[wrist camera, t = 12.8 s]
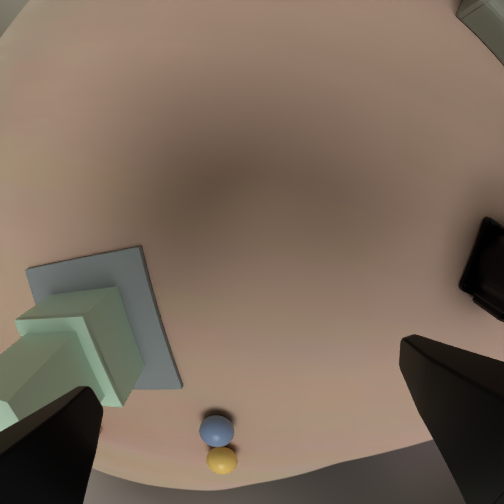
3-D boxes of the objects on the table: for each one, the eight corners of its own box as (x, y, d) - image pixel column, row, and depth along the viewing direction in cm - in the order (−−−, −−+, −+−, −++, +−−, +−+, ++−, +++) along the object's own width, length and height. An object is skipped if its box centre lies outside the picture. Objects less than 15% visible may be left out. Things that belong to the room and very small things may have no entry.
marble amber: (243, 461, 22) (225, 438, 24) (216, 477, 21) (198, 453, 23) (243, 466, 24) (226, 445, 26) (218, 480, 23) (202, 458, 25)
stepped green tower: (117, 286, 20) (8, 386, 8) (145, 366, 22) (82, 486, 10) (51, 294, 21) (-51, 370, 8) (79, 365, 22) (7, 458, 10)
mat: (141, 245, 20) (138, 247, 19) (183, 385, 23) (182, 388, 22) (28, 268, 21) (25, 270, 20) (73, 383, 23) (71, 385, 23)
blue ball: (214, 426, 20) (211, 403, 23) (193, 445, 20) (192, 422, 23) (243, 439, 21) (238, 417, 24) (221, 457, 21) (218, 435, 24)
